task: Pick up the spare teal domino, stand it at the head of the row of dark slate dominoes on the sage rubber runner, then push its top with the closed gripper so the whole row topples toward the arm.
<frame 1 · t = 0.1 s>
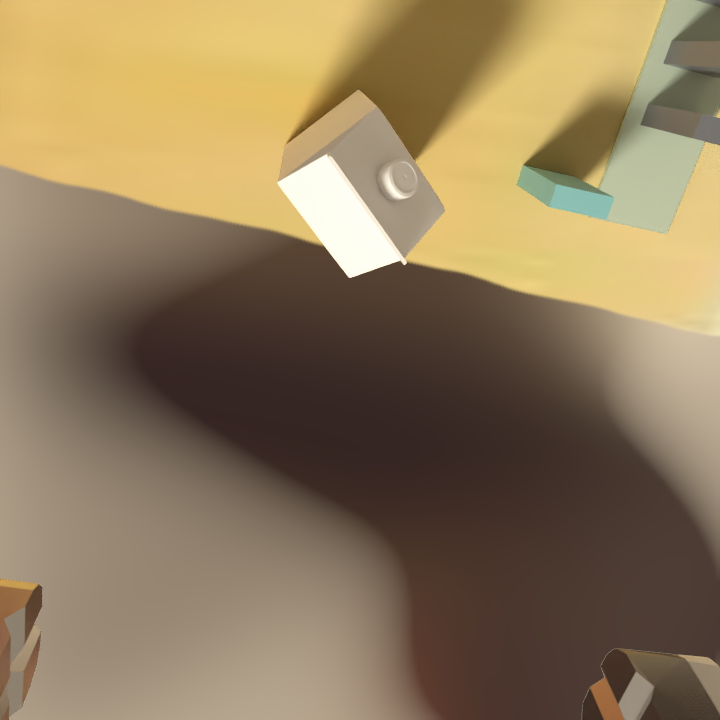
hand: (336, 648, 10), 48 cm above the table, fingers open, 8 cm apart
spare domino: (545, 180, 55), on the table
domino 1: (669, 120, 54), resting on runner mat
domino 2: (693, 59, 52), resting on runner mat
milk carton: (347, 156, 54), on the table
runner mat: (690, 59, 52), on the table
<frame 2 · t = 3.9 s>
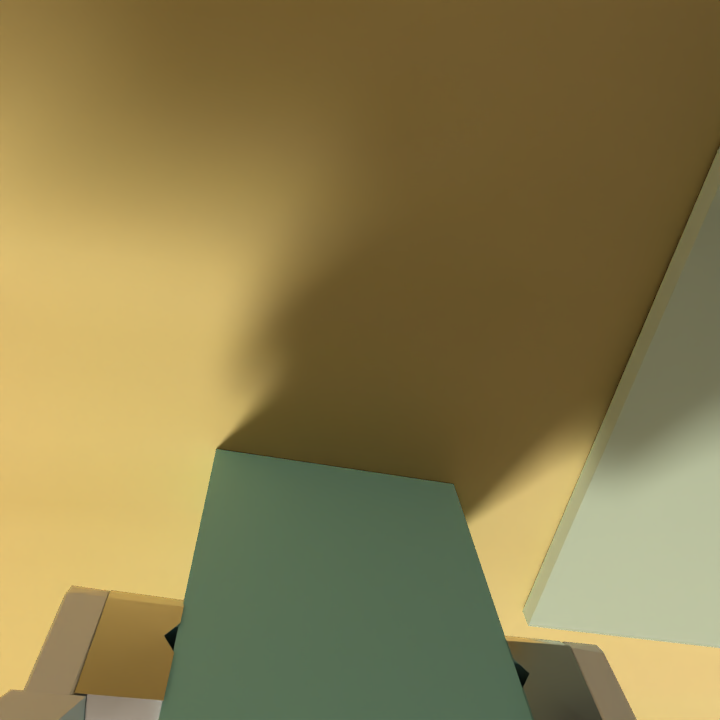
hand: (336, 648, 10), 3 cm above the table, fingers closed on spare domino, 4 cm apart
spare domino: (329, 502, 13), on the table, touching gripper
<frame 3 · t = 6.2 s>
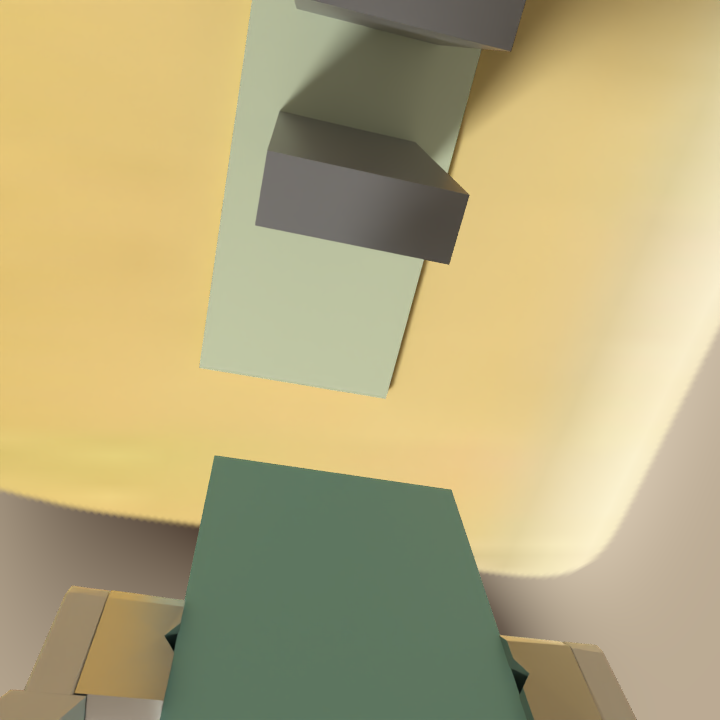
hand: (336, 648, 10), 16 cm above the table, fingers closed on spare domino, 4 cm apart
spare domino: (327, 508, 13), point 13 cm above the table, touching gripper
domino 1: (343, 152, 22), resting on runner mat
when the fingers open (4 cm above the table, at t = 8.6 s): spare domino stays where it is, resting on runner mat.
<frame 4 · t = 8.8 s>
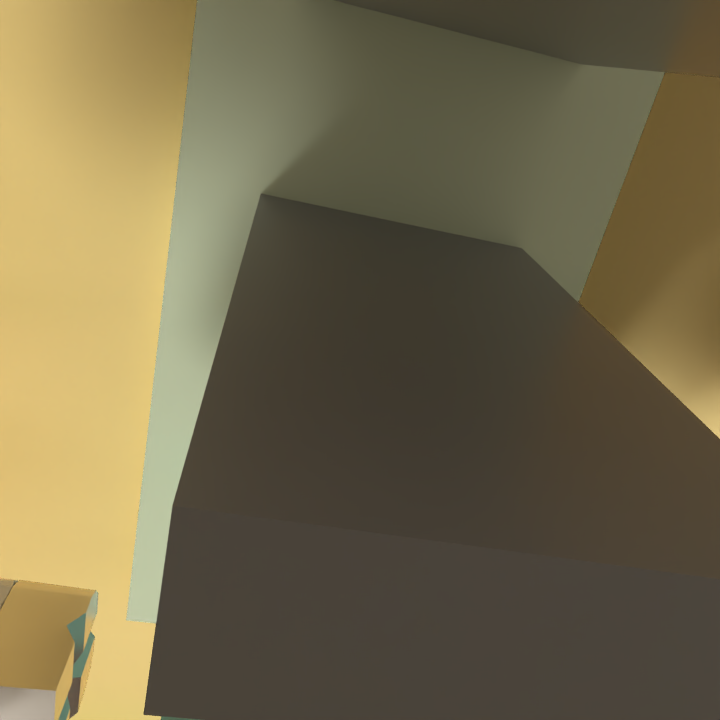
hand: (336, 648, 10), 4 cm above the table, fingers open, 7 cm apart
domino 1: (383, 268, 11), resting on runner mat
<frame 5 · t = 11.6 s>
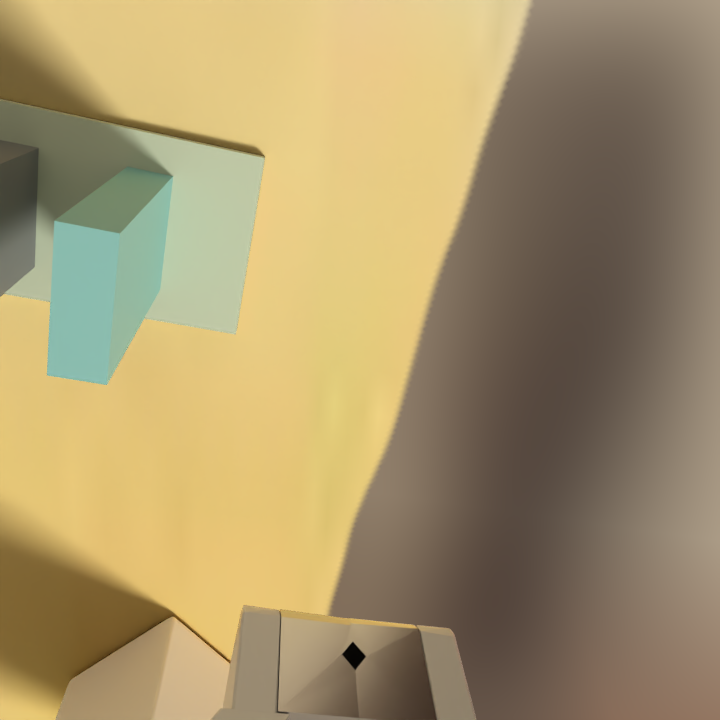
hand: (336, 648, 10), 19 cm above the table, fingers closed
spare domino: (144, 230, 25), resting on runner mat
domino 1: (13, 205, 25), resting on runner mat
milk carton: (169, 680, 36), on the table
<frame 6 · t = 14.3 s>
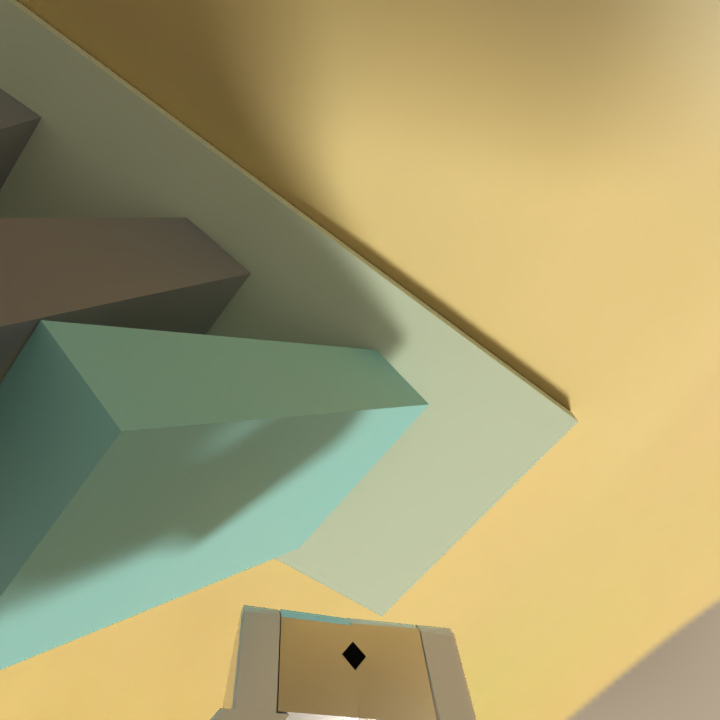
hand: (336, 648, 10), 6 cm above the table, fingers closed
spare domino: (336, 451, 15), point 1 cm above the table, tilted 40°
domino 1: (156, 333, 13), point 1 cm above the table, tilted 21°, touching domino 2, runner mat
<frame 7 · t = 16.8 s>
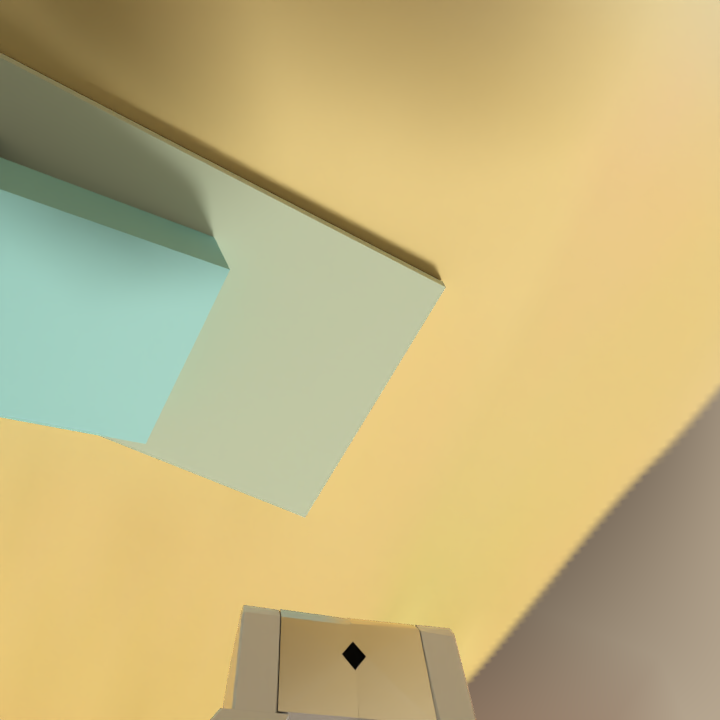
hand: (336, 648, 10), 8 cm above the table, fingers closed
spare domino: (179, 341, 15), point 1 cm above the table, tilted 70°, touching domino 1, runner mat
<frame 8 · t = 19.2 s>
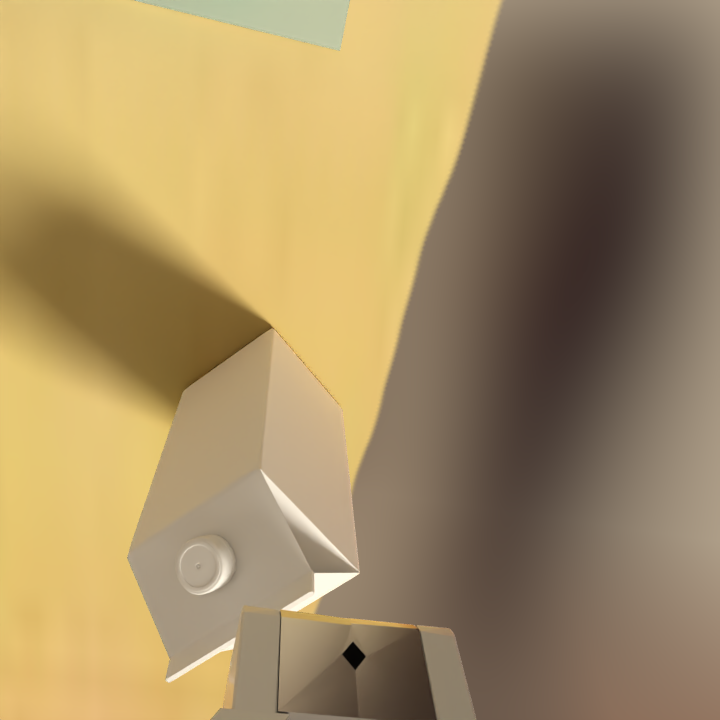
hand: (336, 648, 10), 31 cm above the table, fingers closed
milk carton: (264, 397, 43), on the table
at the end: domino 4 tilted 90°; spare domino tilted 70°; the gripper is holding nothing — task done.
